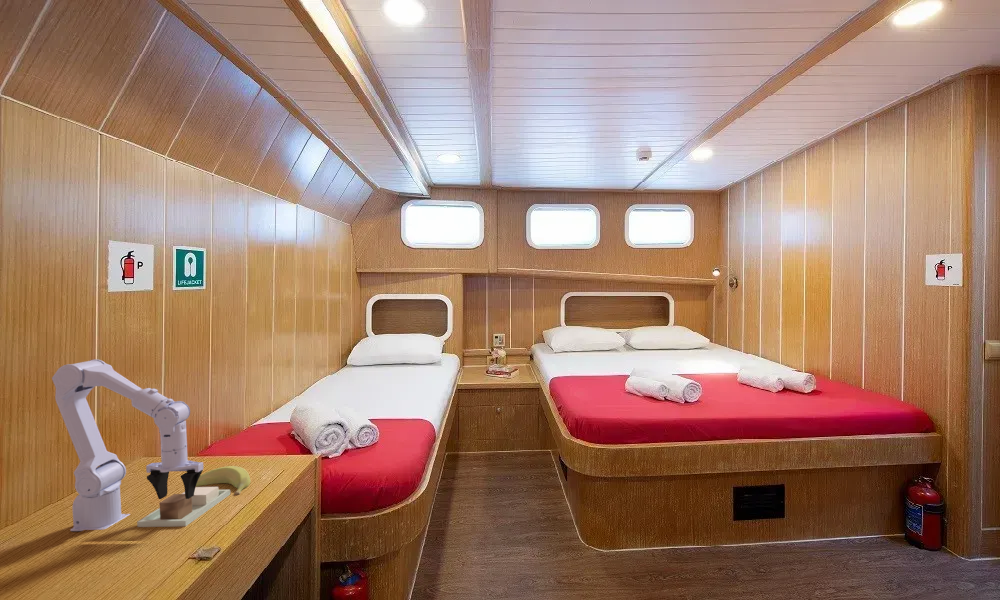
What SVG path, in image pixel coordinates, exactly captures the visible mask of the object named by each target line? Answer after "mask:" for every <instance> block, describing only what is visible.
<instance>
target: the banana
mask: <svg viewBox="0 0 1000 600" xmlns="http://www.w3.org/2000/svg"><path fill="white" fill-rule="evenodd" d="M251 482H252V481H251V477H250V473H249V472H248V471H247V470H246V469H245V468H244V467H241V466H236V465H230V466H229V465H228V466H222V467H221V466H220V467H218V468H214V469H211V470H208V471H206V472H205V473H201V475H200V477H199V479H198V481H197V484H196V487H203V486H207V485H215V484H228V485H229V484H230V485H232V486H233V487H234V488H236V489H237V490H236V491H235V492H234V493H233V494H234V496H236V495H241V492H242V491H243V489H245V488H247V487H248V486H249V485H250V484H251Z"/></svg>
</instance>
